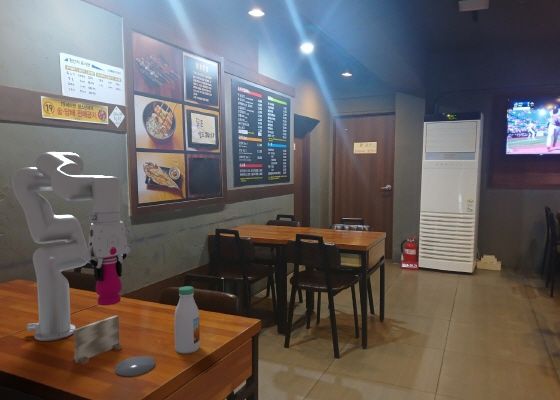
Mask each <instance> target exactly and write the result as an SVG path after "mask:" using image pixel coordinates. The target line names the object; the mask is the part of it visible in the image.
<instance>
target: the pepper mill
mask: <svg viewBox="0 0 560 400" xmlns="http://www.w3.org/2000/svg"><path fill="white" fill-rule="evenodd" d="M116 252H117V250H116V247H115V248H114V247H112V248H110V254H111V255H114V254H115V253H116ZM116 262H117V257H116V256H112V257H107V258H103V260H102V264H101V268H103V281H97V280H96V281H97V282H96V285H95V292H96V294H97V295H98V297H97V304H98V305H99V306H112V305H117V304H119V303H120V302H121V295H120V294H119V293H120V292H121V291H122V289H123V285H122V281H121V278H120V277H118V274H117V272H116Z"/></svg>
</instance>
